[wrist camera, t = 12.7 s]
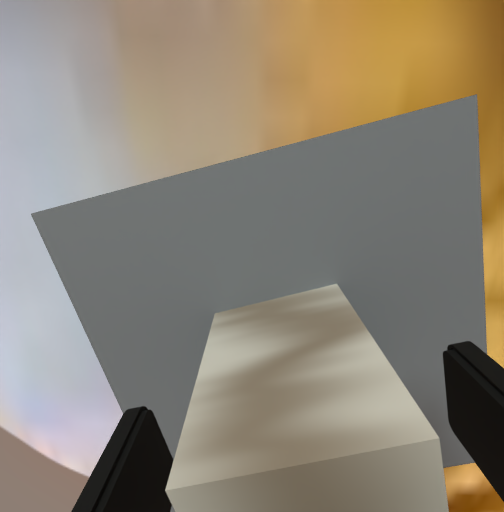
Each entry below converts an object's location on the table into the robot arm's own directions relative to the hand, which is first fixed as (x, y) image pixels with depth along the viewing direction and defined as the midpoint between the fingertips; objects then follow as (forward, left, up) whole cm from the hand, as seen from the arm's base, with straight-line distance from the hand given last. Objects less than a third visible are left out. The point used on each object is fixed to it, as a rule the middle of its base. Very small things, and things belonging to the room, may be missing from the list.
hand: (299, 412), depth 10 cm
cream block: (0, 0, -3) cm, 3 cm away
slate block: (0, 0, -8) cm, 8 cm away
